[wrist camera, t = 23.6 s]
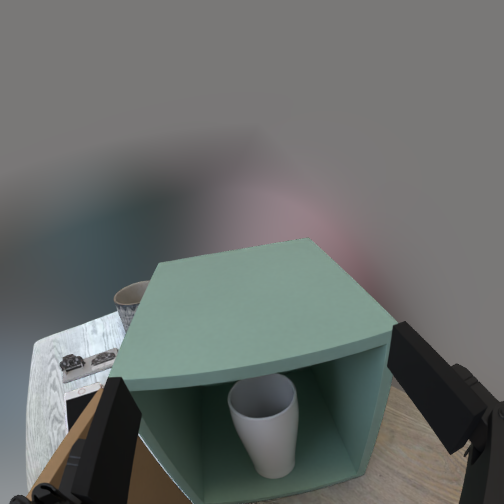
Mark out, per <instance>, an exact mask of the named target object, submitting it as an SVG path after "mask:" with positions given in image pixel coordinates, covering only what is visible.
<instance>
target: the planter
mask: <svg viewBox="0 0 504 504" xmlns="http://www.w3.org/2000/svg"><path fill="white" fill-rule="evenodd" d="M149 282H150V281H142V282H138V283H134V284H131V285H129V286H127V287H125V288H123V289H121V290H120V291H119V292H117V293H116V295H115V296H114V301H115V305H116V307H117V310H118V313H119V316H120V318H121V321H122V324H123V326H124V329H125V331H126V333H127V330H128V328H129V326H130V324H131V321H132V319H133V317H134V315H135V312H136V310H137V308H138V306H139V304H140V301H141V299H142V297H143V295H144V293H145V291H146V289H147V287H148V284H149Z"/></svg>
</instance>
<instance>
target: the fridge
mask: <svg viewBox="0 0 504 504" xmlns="http://www.w3.org/2000/svg"><path fill="white" fill-rule="evenodd" d="M395 324H398V322H397V321H396V320H395V319H394V318H393V317H392V316H391V315H390V314H389V313H388V312H387V311H386V310H385V309H384V308H383V307H382V306H381V305H380V304H379V303H378V302H377V301H376V300H375V299H373V297H371V296H370V295H369V294H368V293H367V292H366V291H365V290H364V289H363V288H362V287H361V286H360V285H359V284H358V283H357V282H356V281H355V280H354V279H352V277H351V276H350V275H349V274H347V273H346V272H345V271H344V270H343V269H342V268H341V267H340V266H339V265H338V264H337V263H336V262H335V261H334V260H333V259H331V258H330V257H329V256H328V255H327V254H326V253H325V252H324V251H323V250H322V249H321V248H319V247H318V246H317V245H316V244H315V243H314V242H313V241H312V240H311V239H310V238H303V239H296V240H291V241H285V242H278V243H273V244H267V245H261V246H255V247H249V248H244V249H237V250H231V251H225V252H220V253H214V254H208V255H203V256H197V257H191V258H185V259H179V260H174V261H167V262H162V263H159V264H158V266H157V268H156V270H155V272H154V274H153V276H152V278H151V280H150V282H149V284H148V287H147V289H146V291H145V293H144V295H143V297H142V299H141V301H140V304H139V306H138V308H137V310H136V312H135V315H134V317H133V319H132V321H131V324H130V326H129V328H128V330H127V333H126V335H125V337H124V340H123V342H122V344H121V347H120V349H119V352H118V354H117V356H116V359H115V361H114V364H113V366H112V369H111V371H110V374H109V376H108V377H122V378H123V380H124V382H125V384H126V386H127V388H128V390H129V392H130V393H131V395H132V397H133V399H134V401H135V402H136V404H137V406H138V408H139V409H140V411H141V413H142V418H141V423H140V428H139V434H140V435H141V437H142V438H143V440H144V441H145V443H146V444H147V445H148V447H149V448H150V450H151V451H152V452H153V454H154V455H155V457H156V458H157V459H158V461H159V462H160V463H161V464H162V466H163V467H164V468H165V470H166V471H167V472H168V473H169V475H170V476H171V477H172V478H173V480H174V481H175V482H176V483H177V484H178V486H179V487H180V488H181V489H182V490H183V491H184V493H185V494H186V495H187V496H188V497H189V498H190V499H191V500H192V502H193V503H194V504H242V503H250V502H257V501H264V500H270V499H276V498H281V497H286V496H291V495H296V494H300V493H305V492H309V491H313V490H317V489H320V488H324V487H328V486H331V485H334V484H338V483H341V482H344V481H347V480H350V479H353V478H356V477H359V476H362V475H364V473H365V471H366V468H367V465H368V462H369V460H370V457H371V454H372V451H373V448H374V445H375V442H376V439H377V435H378V432H379V429H380V425H381V422H382V418H383V415H384V411H385V407H386V403H387V400H388V396H389V391H390V387H391V382H392V378H393V374H392V373H391V371H390V370H389V369H388V367H387V362H388V356H389V350H390V343H391V336H392V328H393V325H395ZM275 373H279V374H282V375H284V376H286V377H288V378H289V379H290V380H291V381H292V382H293V383H294V385H295V387H296V390H297V397H298V405H299V424H298V434H297V443H296V452H295V466H294V468H293V470H292V471H291V472H290V473H289V474H288V475H286V476H284V477H282V478H278V479H268V478H265V477H263V476H261V475H259V474H258V473H257V472H256V470H255V468H254V465H253V463H252V461H251V459H250V457H249V455H248V453H247V451H246V449H245V447H244V445H243V443H242V441H241V439H240V437H239V435H238V433H237V431H236V429H235V426H234V424H233V421H232V418H231V414H230V410H229V405H228V400H227V398H228V393H229V390H230V389H231V387H232V386H233V385H234V384H235V383H236V382H237V381H238V380H242V379H248V378H254V377H259V376H264V375H270V374H275Z"/></svg>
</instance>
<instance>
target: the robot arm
mask: <svg viewBox="0 0 504 504" xmlns="http://www.w3.org/2000/svg"><path fill="white" fill-rule="evenodd" d="M387 367H388V369H389V370H390V371H391V373H392V374H393V375H394V377H395V378H396V380H397V381H398V382H399V384H400V385H401V386H402V388H403V389H404V390H405V392H406V393H407V394H408V396H409V397H410V399H411V400H412V401H413V403H414V404H415V405H416V407H417V408H418V410H419V411H420V412H421V414H422V415H423V417H424V418H425V419H426V421H427V422H428V424H429V425H430V426H431V428H432V429H433V431H434V432H435V434H436V435H437V436H438V438H439V439H440V441H441V442H442V444H443V445H444V447H445V448H446V449H447V451H448V452H449V454H450V455H451V454H453V453H454V452H456V451H458V450H459V449H461V448H462V447H464V445H465V444H466V442H467V441H468V439H469V440H470V441H471V445H470V446H469V447H468V449H467V450H466V452H465V454H464V456H463V457H466V455H467V454H468V453H469V456H468V463H467V469H466V474H465V479H464V484H463V489H462V493H461V497H460V501H459V504H504V401H503V402H499V401H498V400H497V399H496V398H494V396H493V395H492V394H491V393H490V392H489V391H488V390H487V389H486V388H485V387H484V386H483V385H482V384H481V383H480V382H478V380H477V379H476V378H475V377H473V375H472V374H471V373H470V371H469V370H468V369H467V368H465V367H463V366H461V365H459V364H455V365H453V366H450V365H449V364H448V363H447V362H446V361H445V360H444V359H443V358H442V357H441V356H440V355H439V354H438V353H437V352H436V351H435V350H434V349H433V348H432V347H431V346H430V345H429V344H428V343H427V342H426V341H425V340H424V339H423V338H422V337H421V336H420V335H419V334H418V333H417V332H416V331H415V330H414V329H413V328H412V327H411V326H410V325H409V324H408V323H407V322H406V321H404V322H401V323H398V324H395V325H393V328H392V336H391V343H390V350H389V356H388V362H387ZM141 418H142V413H141V411H140V409H139V408H138V406H137V404H136V402H135V401H134V399H133V397H132V395H131V393H130V392H129V390H128V388H127V386H126V384H125V382H124V380H123V378H122V377H108V379H107V381H106V384H105V387H104V389H103V392H102V394H101V397H100V400H99V403H98V405H97V408H96V411H95V414H94V417H93V419H92V422H91V425H90V428H89V431H88V434H87V437H86V439H79V438H78V440H77V441H76V442H75V443H74V445H73V446H72V448H71V451H70V454H69V458H68V460H67V465H66V466H65V469H64V472H63V476H62V479H61V482H60V486H59V489H56V488H55V487H54V486H53V485H51V484H49V483H45V482H44V483H40V484H38V485H37V486H35V487H34V489H33V490H32V494H31V498H32V501H30V500H29V499H28V498H26V497H25V496H23V495H17V496H14V497H13V498H12V499H11V501H10V504H127V501H128V493H129V486H130V479H131V473H132V467H133V461H134V455H135V449H136V444H137V438H138V433H139V428H140V423H141Z"/></svg>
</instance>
